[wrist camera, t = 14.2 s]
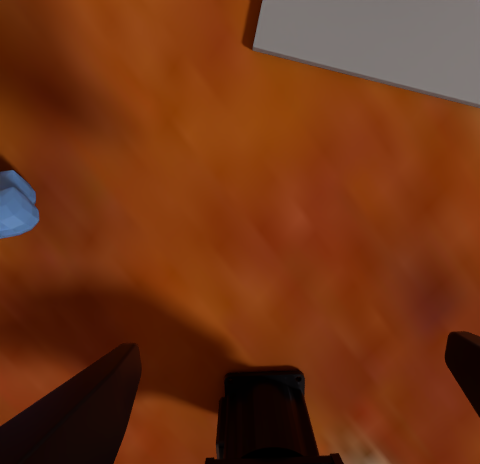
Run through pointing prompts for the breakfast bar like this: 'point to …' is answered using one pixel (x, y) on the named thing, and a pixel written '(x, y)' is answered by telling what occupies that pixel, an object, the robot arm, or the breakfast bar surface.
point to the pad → (381, 41)
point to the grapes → (16, 205)
